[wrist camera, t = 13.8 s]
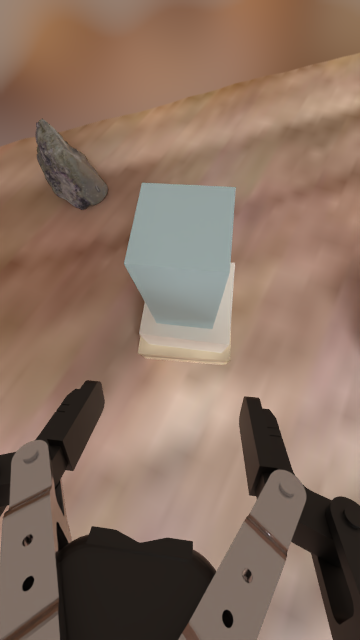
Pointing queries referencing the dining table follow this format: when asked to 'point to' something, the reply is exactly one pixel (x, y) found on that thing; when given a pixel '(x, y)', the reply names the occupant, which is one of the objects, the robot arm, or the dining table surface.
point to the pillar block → (182, 251)
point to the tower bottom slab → (183, 353)
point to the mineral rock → (67, 169)
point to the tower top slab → (193, 336)
